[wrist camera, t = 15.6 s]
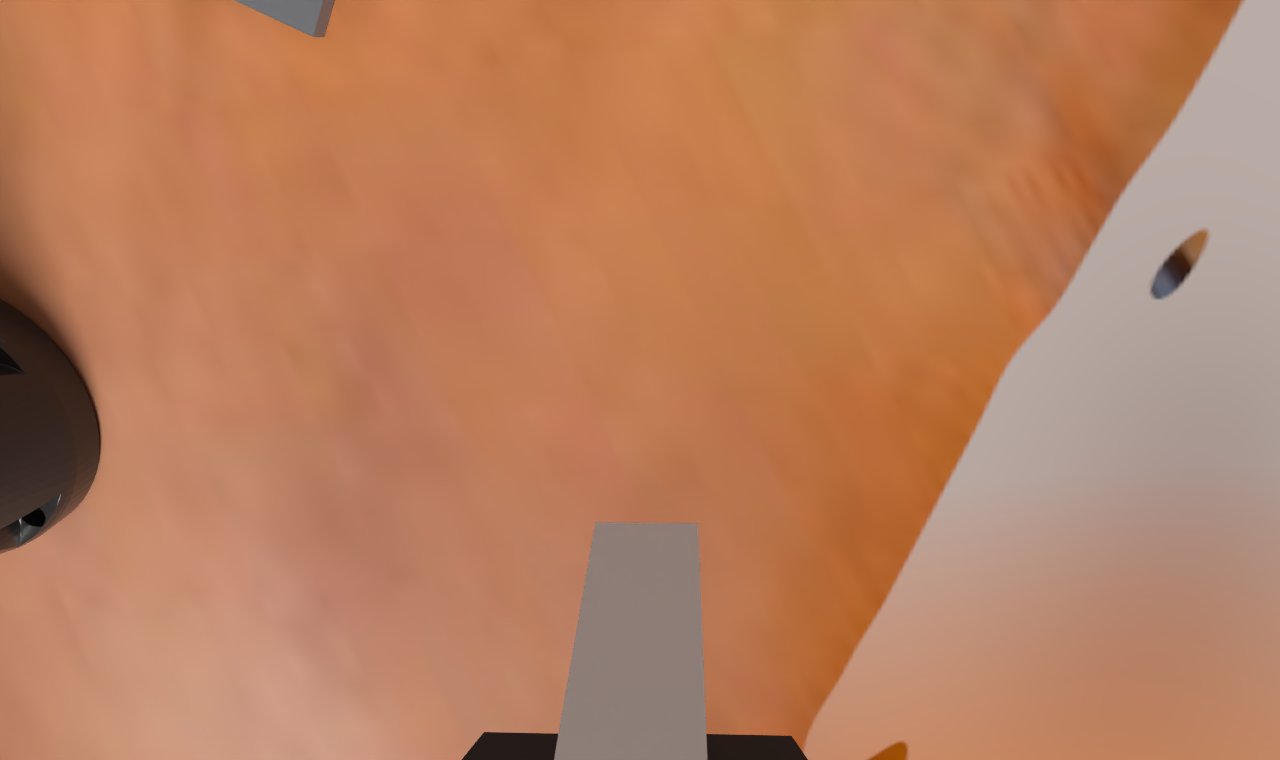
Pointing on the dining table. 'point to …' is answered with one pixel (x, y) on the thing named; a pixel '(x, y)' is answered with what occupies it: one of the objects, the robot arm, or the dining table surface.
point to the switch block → (296, 13)
